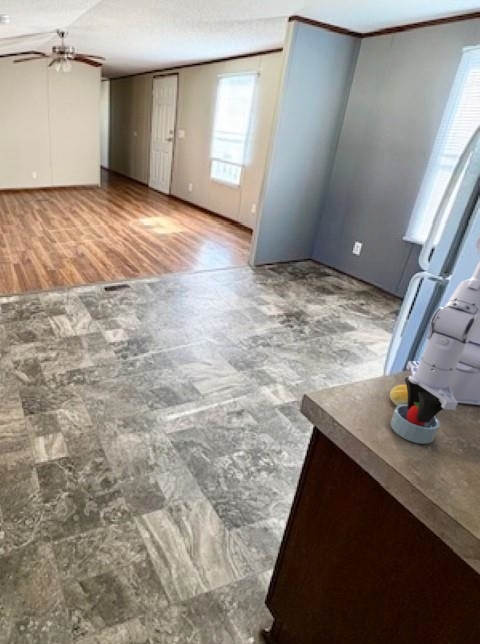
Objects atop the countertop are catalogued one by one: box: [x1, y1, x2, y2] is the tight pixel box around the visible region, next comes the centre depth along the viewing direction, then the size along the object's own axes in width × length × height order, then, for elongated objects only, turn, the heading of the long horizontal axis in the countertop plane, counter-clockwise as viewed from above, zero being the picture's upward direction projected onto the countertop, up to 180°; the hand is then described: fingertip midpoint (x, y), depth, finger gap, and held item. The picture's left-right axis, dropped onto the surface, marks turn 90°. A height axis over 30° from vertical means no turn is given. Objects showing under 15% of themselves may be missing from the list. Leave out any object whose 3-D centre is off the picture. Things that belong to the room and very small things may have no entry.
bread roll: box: [389, 383, 408, 407], centre depth 103 cm, size 8×9×4 cm
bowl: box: [389, 404, 441, 445], centre depth 93 cm, size 8×8×4 cm
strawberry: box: [406, 402, 425, 425], centre depth 92 cm, size 3×3×4 cm
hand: (417, 415), depth 92 cm, fingers closed on strawberry, 3 cm apart
